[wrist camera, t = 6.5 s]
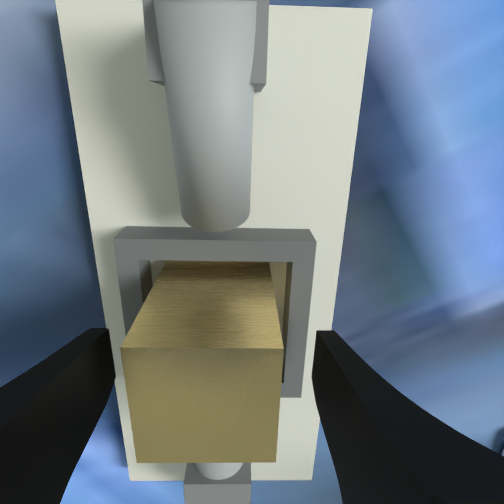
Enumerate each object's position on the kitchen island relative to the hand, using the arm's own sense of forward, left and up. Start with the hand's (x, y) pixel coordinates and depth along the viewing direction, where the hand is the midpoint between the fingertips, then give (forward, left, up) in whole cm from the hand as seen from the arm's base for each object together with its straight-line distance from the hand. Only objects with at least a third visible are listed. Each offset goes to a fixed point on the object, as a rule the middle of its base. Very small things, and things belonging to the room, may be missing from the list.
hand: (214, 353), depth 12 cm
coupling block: (0, 0, -3) cm, 3 cm away
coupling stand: (0, 0, -4) cm, 4 cm away
